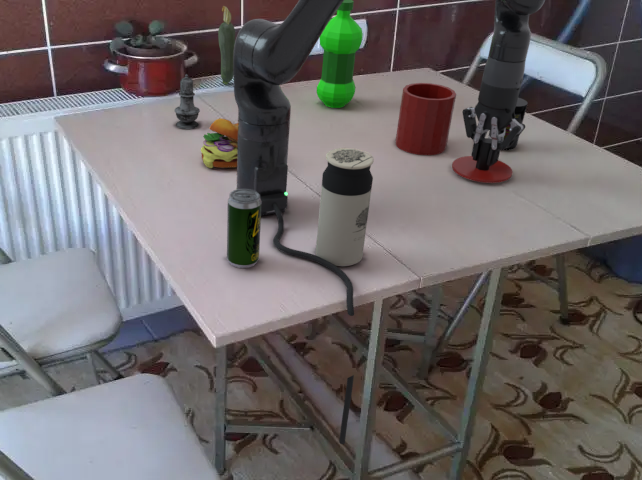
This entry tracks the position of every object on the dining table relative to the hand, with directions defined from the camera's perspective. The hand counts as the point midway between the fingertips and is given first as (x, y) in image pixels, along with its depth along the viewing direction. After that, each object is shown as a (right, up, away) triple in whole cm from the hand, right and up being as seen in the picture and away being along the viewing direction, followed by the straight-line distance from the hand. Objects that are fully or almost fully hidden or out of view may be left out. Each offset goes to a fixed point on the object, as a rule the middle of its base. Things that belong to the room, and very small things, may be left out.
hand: (483, 161), depth 156 cm
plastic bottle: (-28, +21, +33) cm, 48 cm away
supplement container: (+9, +6, +15) cm, 18 cm away
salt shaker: (-64, +12, +18) cm, 67 cm away
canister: (-10, +6, +13) cm, 18 cm away
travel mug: (-34, -22, -29) cm, 49 cm away
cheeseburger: (-54, 0, +2) cm, 54 cm away
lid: (0, -2, +1) cm, 2 cm away
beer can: (-50, -23, -32) cm, 63 cm away
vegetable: (-56, +28, +43) cm, 76 cm away
